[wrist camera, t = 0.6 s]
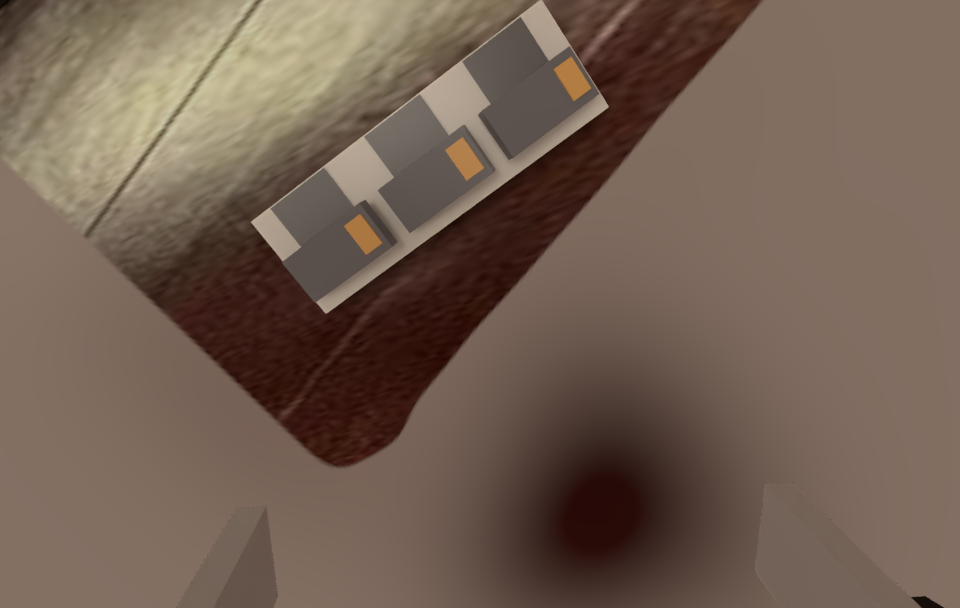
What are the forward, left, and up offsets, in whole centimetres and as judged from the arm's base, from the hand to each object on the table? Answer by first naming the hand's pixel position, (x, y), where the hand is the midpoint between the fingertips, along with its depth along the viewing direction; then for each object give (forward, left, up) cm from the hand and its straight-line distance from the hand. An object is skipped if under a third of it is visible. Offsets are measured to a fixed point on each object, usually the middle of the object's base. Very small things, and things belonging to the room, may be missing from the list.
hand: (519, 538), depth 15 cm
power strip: (-10, +3, -26) cm, 28 cm away
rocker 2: (-9, +3, -20) cm, 22 cm away
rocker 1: (-9, -4, -20) cm, 22 cm away
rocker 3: (-9, +10, -20) cm, 24 cm away
